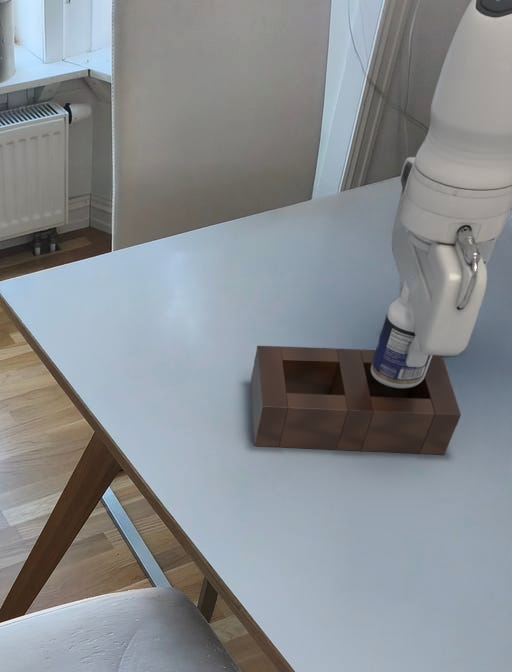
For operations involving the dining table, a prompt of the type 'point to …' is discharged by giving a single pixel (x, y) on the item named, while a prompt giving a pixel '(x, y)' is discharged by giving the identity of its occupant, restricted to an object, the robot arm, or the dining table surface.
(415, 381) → the pill bottle
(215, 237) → the dining table surface
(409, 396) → the socket block
